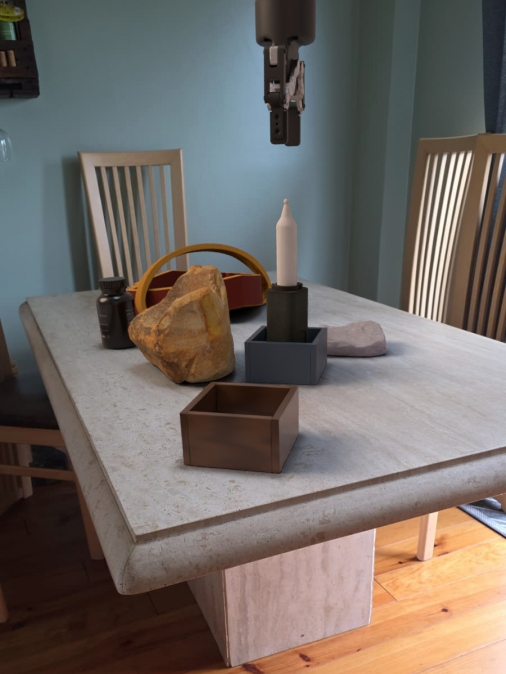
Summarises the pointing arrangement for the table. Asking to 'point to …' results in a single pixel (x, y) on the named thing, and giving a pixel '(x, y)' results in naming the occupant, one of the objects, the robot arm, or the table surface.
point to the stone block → (356, 339)
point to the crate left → (240, 426)
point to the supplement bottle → (115, 312)
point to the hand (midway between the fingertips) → (286, 145)
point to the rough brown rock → (189, 329)
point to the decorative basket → (239, 286)
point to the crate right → (286, 358)
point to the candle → (287, 288)
